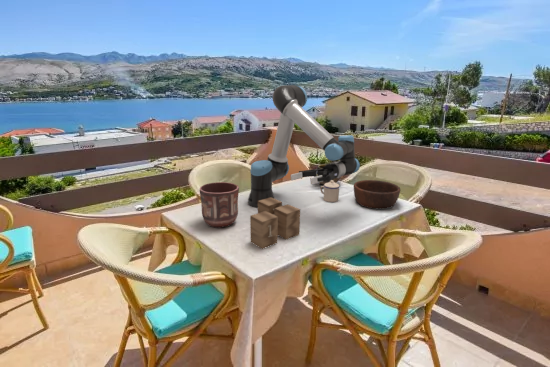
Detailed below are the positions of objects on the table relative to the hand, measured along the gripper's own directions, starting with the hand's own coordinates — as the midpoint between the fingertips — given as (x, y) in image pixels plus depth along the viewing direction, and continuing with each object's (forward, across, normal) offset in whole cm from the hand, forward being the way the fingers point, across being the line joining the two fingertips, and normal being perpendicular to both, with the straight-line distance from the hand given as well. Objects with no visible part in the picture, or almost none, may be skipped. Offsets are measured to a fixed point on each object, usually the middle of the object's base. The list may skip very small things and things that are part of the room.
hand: (300, 179), depth 141 cm
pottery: (+29, +28, -19) cm, 44 cm away
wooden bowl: (-55, +3, -26) cm, 61 cm away
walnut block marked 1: (+23, 0, -22) cm, 32 cm away
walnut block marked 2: (+11, +12, -22) cm, 27 cm away
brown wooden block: (+10, 0, -23) cm, 25 cm away
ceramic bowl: (-57, +42, -21) cm, 74 cm away
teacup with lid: (-38, +22, -23) cm, 50 cm away
